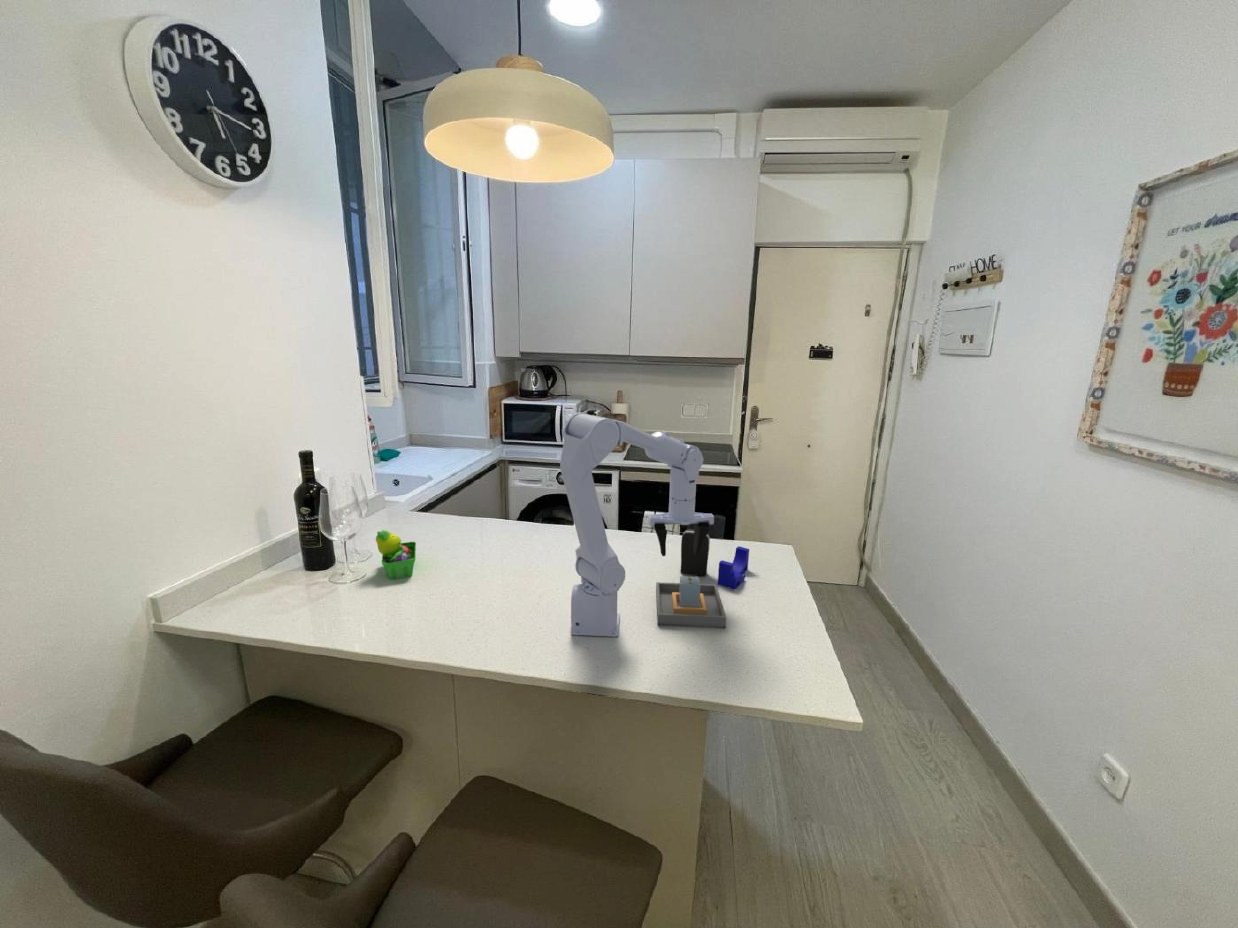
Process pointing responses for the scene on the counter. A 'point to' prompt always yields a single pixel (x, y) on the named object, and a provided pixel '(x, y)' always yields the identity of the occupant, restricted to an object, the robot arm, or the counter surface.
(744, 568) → the cable clip
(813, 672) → the counter surface
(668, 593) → the box
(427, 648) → the counter surface
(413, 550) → the fruit basket
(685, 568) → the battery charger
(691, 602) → the connector plug
